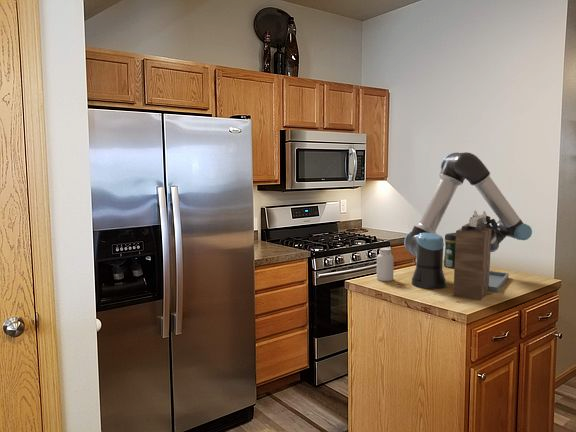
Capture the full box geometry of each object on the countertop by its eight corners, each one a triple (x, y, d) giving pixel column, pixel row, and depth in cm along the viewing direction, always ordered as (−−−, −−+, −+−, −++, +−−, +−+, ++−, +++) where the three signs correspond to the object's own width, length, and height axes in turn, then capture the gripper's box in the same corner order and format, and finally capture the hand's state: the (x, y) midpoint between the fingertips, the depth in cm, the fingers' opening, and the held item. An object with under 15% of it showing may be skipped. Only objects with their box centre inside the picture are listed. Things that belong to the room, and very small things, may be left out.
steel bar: (478, 221, 208) (479, 214, 208) (485, 221, 206) (486, 215, 206) (468, 226, 192) (469, 219, 191) (476, 226, 190) (476, 219, 190)
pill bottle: (382, 276, 227) (382, 246, 225) (396, 279, 222) (397, 248, 220) (373, 279, 222) (373, 248, 220) (387, 282, 216) (388, 251, 214)
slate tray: (469, 272, 235) (470, 268, 235) (508, 277, 225) (508, 273, 225) (454, 286, 209) (454, 281, 209) (497, 292, 200) (497, 287, 199)
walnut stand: (462, 287, 207) (465, 221, 204) (488, 291, 201) (492, 223, 198) (453, 296, 194) (456, 225, 190) (480, 300, 188) (484, 228, 184)
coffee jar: (452, 264, 255) (453, 231, 253) (464, 266, 248) (466, 233, 246) (440, 266, 250) (442, 232, 248) (453, 269, 243) (454, 234, 241)
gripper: (504, 243, 213) (498, 223, 195) (467, 240, 222) (458, 220, 204) (506, 228, 215) (500, 207, 197) (470, 225, 224) (461, 204, 206)
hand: (479, 213), depth 200 cm, fingers closed on steel bar, 3 cm apart
